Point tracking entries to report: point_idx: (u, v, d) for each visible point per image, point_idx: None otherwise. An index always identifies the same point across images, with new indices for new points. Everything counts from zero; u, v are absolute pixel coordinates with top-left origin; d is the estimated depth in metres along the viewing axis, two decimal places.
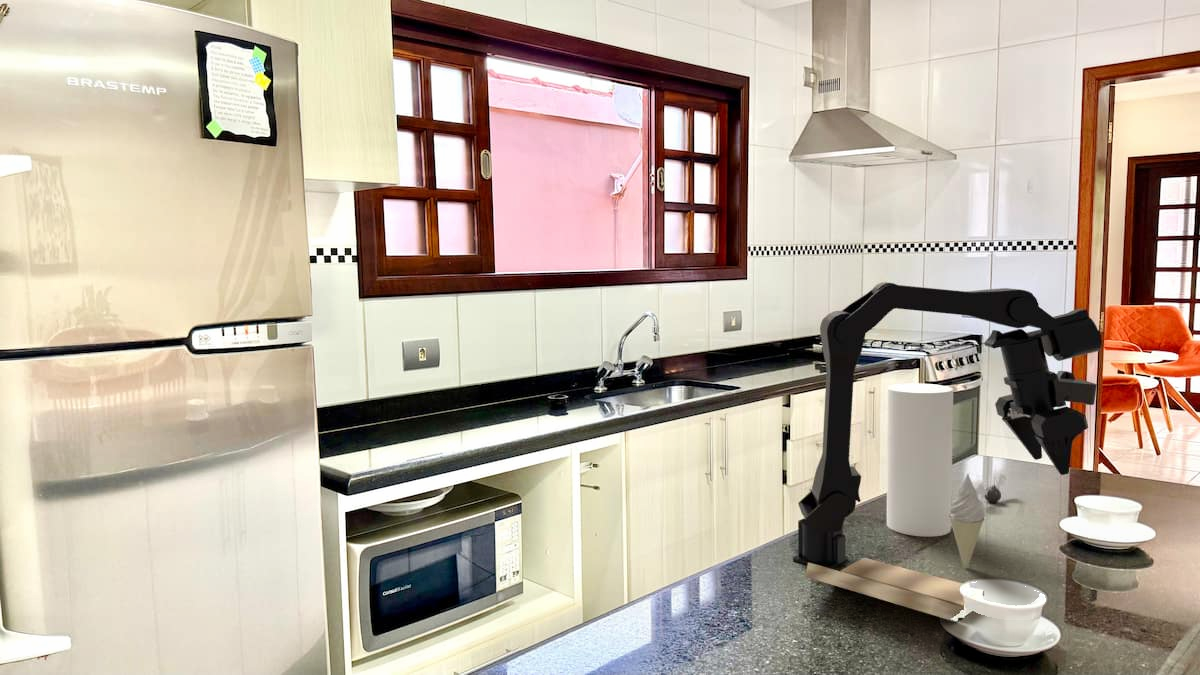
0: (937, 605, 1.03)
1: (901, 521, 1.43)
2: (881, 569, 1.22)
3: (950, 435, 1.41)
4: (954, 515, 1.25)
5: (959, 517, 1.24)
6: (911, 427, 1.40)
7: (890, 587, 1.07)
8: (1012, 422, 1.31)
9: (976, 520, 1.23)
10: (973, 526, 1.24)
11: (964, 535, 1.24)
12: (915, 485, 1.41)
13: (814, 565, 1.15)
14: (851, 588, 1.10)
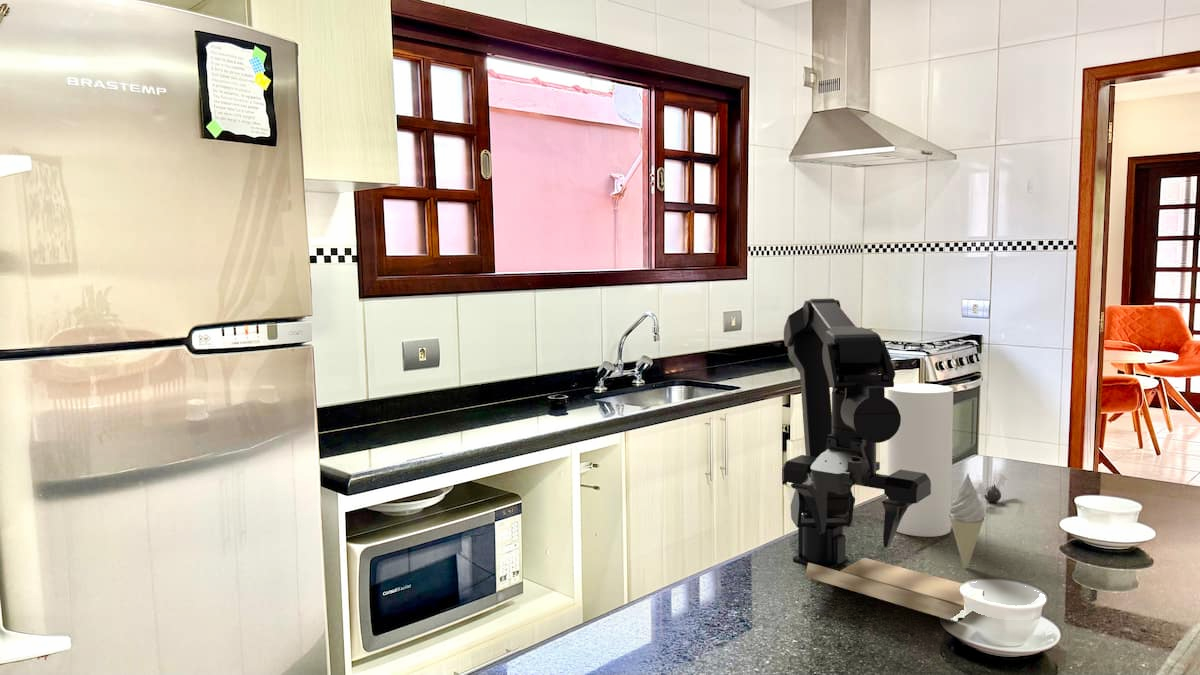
0: (937, 605, 1.03)
1: (901, 521, 1.43)
2: (881, 569, 1.22)
3: (950, 435, 1.41)
4: (954, 515, 1.25)
5: (959, 517, 1.24)
6: (911, 427, 1.40)
7: (890, 587, 1.07)
8: None
9: (976, 520, 1.23)
10: (973, 526, 1.24)
11: (964, 535, 1.24)
12: None
13: (814, 565, 1.15)
14: (851, 588, 1.10)
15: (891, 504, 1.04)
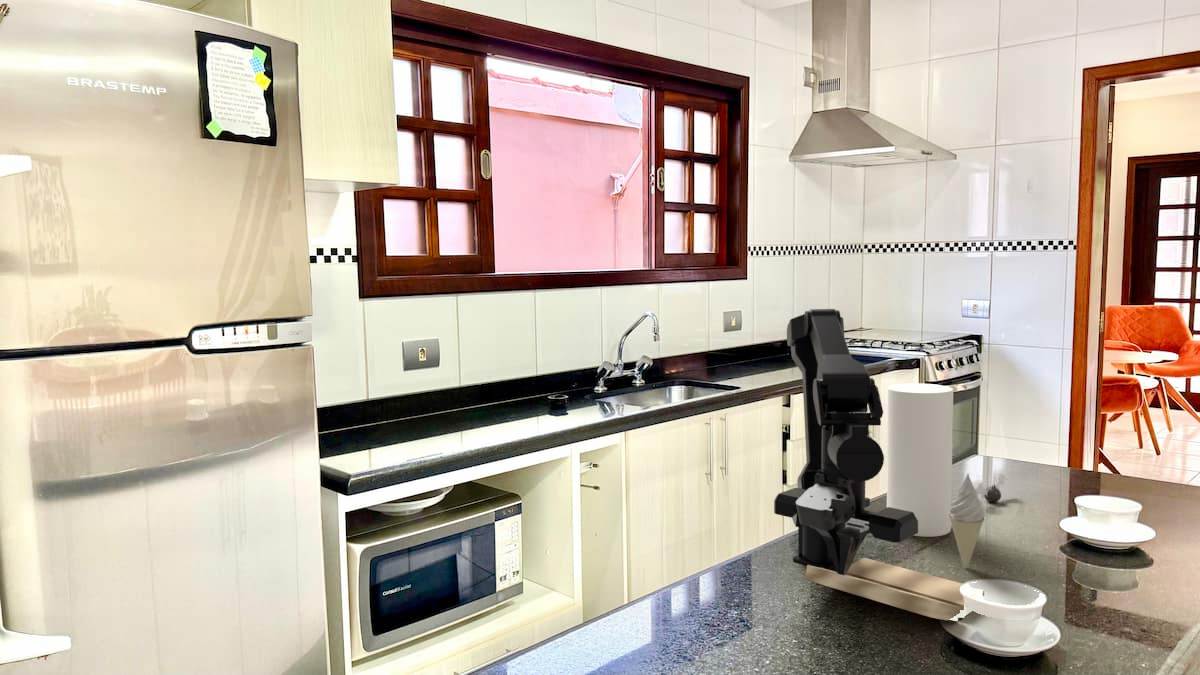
0: (936, 608, 1.03)
1: None
2: (881, 569, 1.22)
3: (950, 435, 1.41)
4: (954, 515, 1.25)
5: (959, 517, 1.24)
6: (911, 427, 1.40)
7: (889, 590, 1.06)
8: None
9: (976, 520, 1.23)
10: (973, 526, 1.24)
11: (964, 535, 1.24)
12: (915, 485, 1.41)
13: (813, 568, 1.14)
14: (850, 591, 1.10)
15: (844, 534, 1.08)
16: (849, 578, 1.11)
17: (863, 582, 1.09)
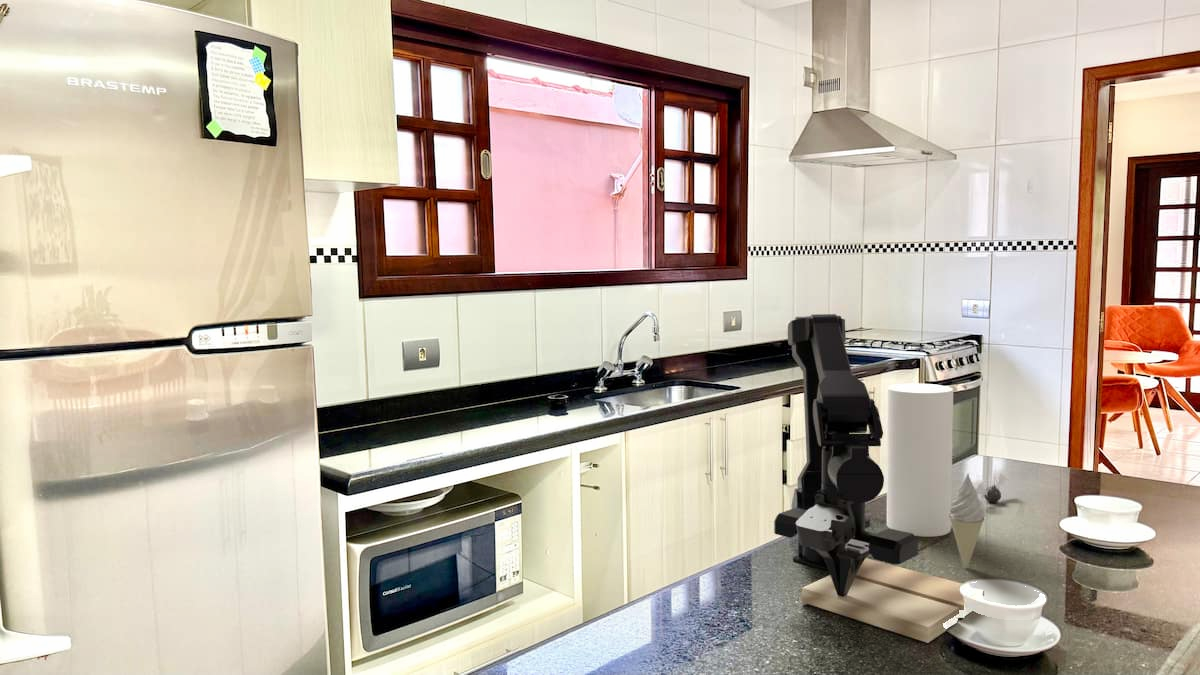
0: (932, 630, 1.03)
1: (901, 521, 1.43)
2: (881, 569, 1.22)
3: (950, 435, 1.41)
4: (954, 515, 1.25)
5: (959, 517, 1.24)
6: (911, 427, 1.40)
7: (884, 615, 1.06)
8: None
9: (976, 520, 1.23)
10: (973, 526, 1.24)
11: (964, 535, 1.24)
12: (915, 485, 1.41)
13: (808, 591, 1.14)
14: (847, 615, 1.10)
15: (844, 555, 1.08)
16: (844, 602, 1.10)
17: (858, 606, 1.08)
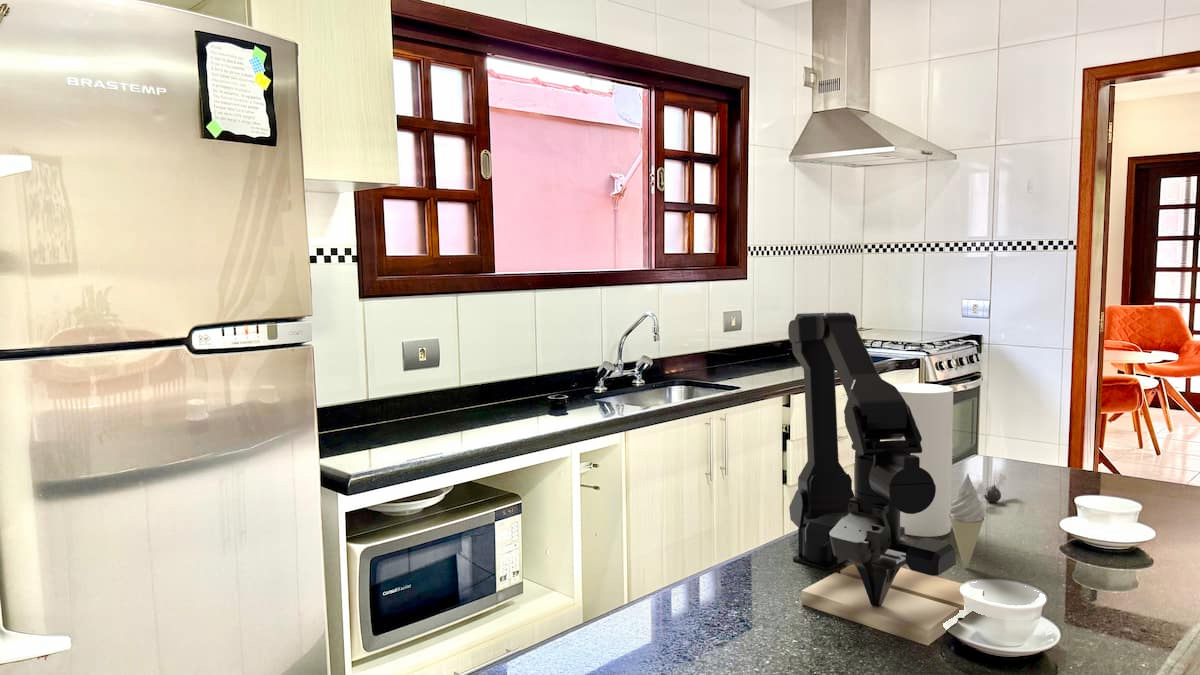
0: (932, 632, 1.03)
1: (901, 521, 1.43)
2: None
3: (950, 435, 1.41)
4: (954, 515, 1.25)
5: (959, 517, 1.24)
6: None
7: (884, 618, 1.06)
8: None
9: (976, 520, 1.23)
10: (973, 526, 1.24)
11: (964, 535, 1.24)
12: None
13: (808, 593, 1.14)
14: (847, 617, 1.10)
15: (879, 565, 1.05)
16: (844, 605, 1.10)
17: (858, 609, 1.08)
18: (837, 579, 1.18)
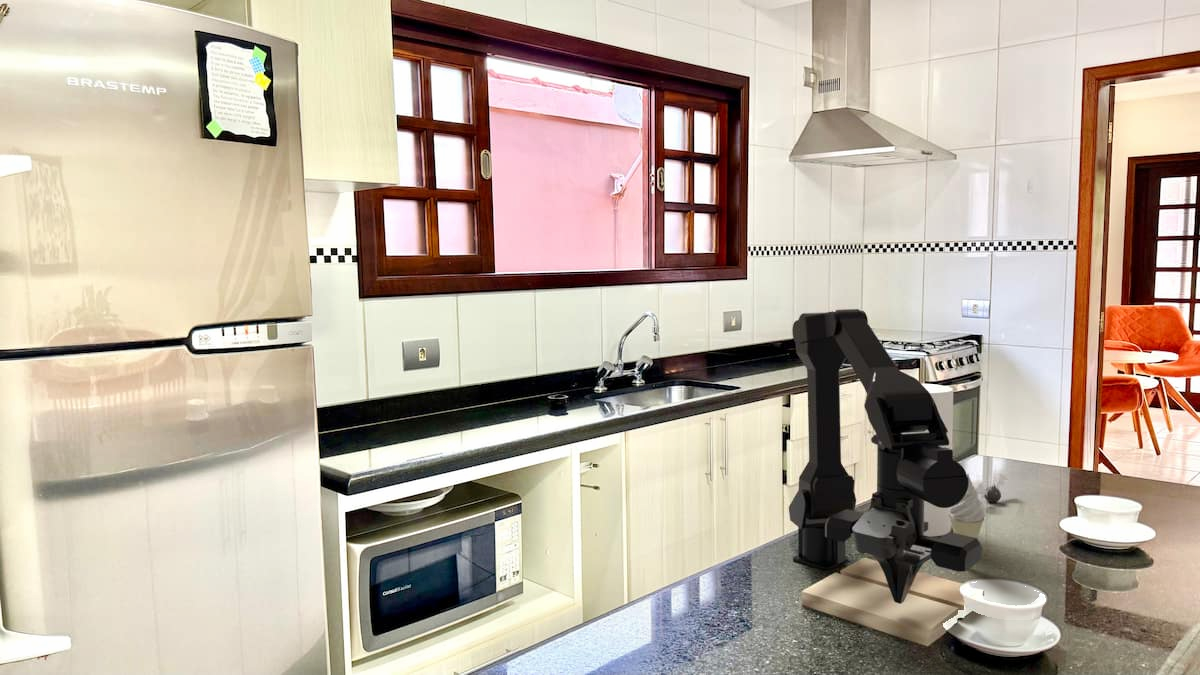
0: (932, 633, 1.03)
1: None
2: (881, 569, 1.22)
3: (950, 435, 1.41)
4: (954, 515, 1.25)
5: (959, 517, 1.24)
6: None
7: (884, 618, 1.06)
8: None
9: (976, 520, 1.23)
10: (973, 526, 1.24)
11: None
12: None
13: (808, 594, 1.14)
14: (847, 618, 1.10)
15: (903, 561, 1.03)
16: (844, 605, 1.10)
17: (858, 610, 1.08)
18: (837, 580, 1.18)
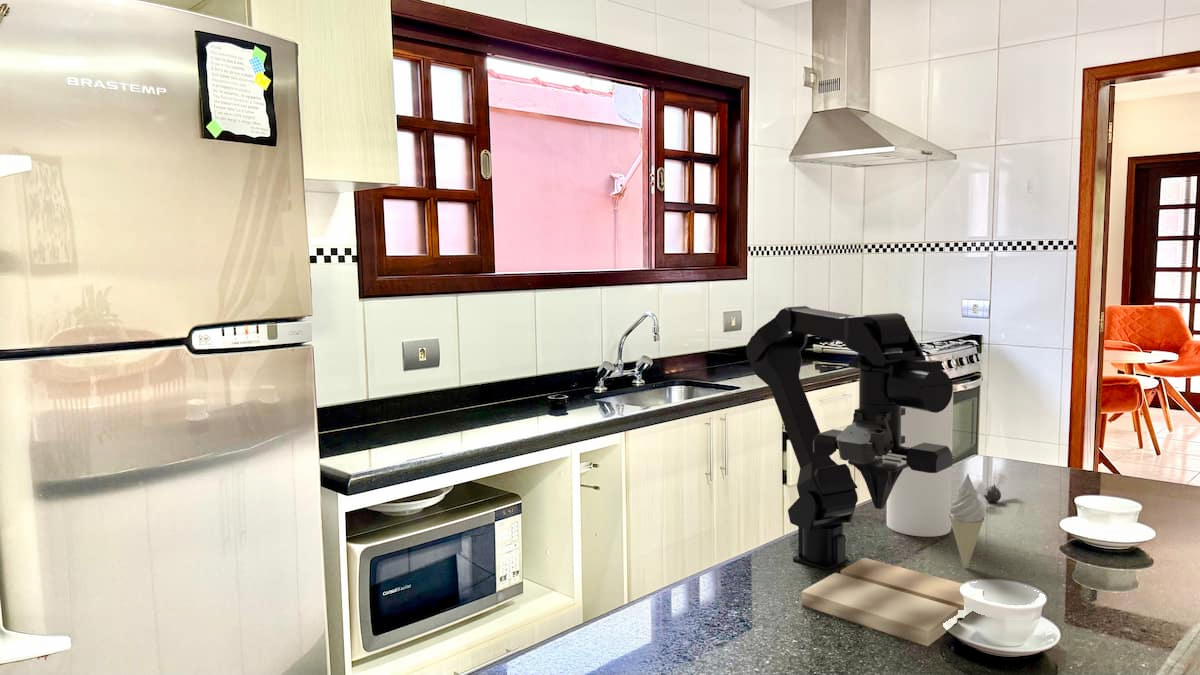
0: (932, 633, 1.03)
1: (901, 521, 1.43)
2: (881, 569, 1.22)
3: (950, 435, 1.41)
4: (954, 515, 1.25)
5: (959, 517, 1.24)
6: (911, 427, 1.40)
7: (884, 618, 1.06)
8: None
9: (976, 520, 1.23)
10: (973, 526, 1.24)
11: (964, 535, 1.24)
12: (915, 485, 1.41)
13: (808, 594, 1.14)
14: (847, 618, 1.10)
15: (882, 468, 1.15)
16: (844, 605, 1.10)
17: (858, 610, 1.08)
18: (837, 580, 1.18)
